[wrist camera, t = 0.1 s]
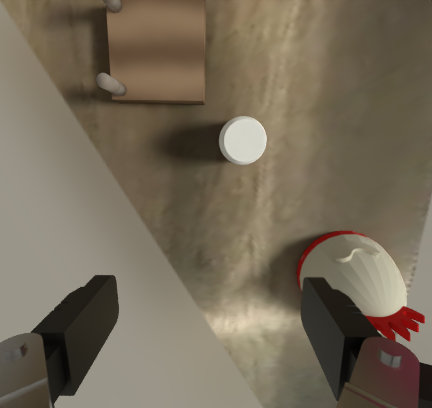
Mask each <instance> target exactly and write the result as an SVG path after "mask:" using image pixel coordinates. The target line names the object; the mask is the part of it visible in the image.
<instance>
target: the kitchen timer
mask: <svg viewBox="0 0 432 408" xmlns="http://www.w3.org/2000/svg"><path fill="white" fill-rule="evenodd" d="M305 277H324V278H325V279H326V281H327V282H328V283H329V285H330V286H331V287H332V289H338V290H340V291H341V292H343V293H344V294H346V295H347V296H349V297H350V298H351V300H352V301H353V302H354V303H355V304H356V307H358V308H359V309H360V310H361V312H362V314H364V315H365V316H366V318H367V319H368V320H369V321H370V322H371V324H372V325H373V326H374V327H375V328H376V330H377V331H378V332H379V333H382V334H383V335H384V336H386V337H387V338H388V339H391V340H393V341H396V339H395V334H394V332H393V331H392V329H393V330H394V331H395V332H397V333H398V334H399V335H400V336H402V337H403V338H405V339H406V340H407V341H410V332H409V331H408V330H407V328H409V329H411V330H413V331H415V332H419V324H418V323H416V322H415V321H413V320H416V321H418V322H421V323H425V321H424V320H425V317H424V316H423V315H422V314H420V313H418V312H416V311H414V310H412V309H410V308H407V307H406V304H407V301H406V287H405V284H404V281H403V279H402V276H401V274H400V271H399V270H398V268H397V266H396V265H395V263H394V261H393V260H392V258H391V257H390V256H389V255H388V254H387V252H386V251H385V250H384V249H383V248H382V247H381V246H380V245H379V244H378V243H376V242H375V241H373V240H371V239H370V238H368V237H366V236H365V235H363V234H360V233H357V232H353V231H336V232H332V233H329V234H326V235H323V236H322V237H320V238H318V239H317V240H315V241H313V242H312V244H311V245H310V246H309V247H308V248H307V249H306V250H305V251H304V253H303V255H302V257H301V258H300V260H299V264H298V269H297V279H298V285H299V287H300V289H301V291H302V288H303V280H304V278H305ZM412 319H413V320H412Z"/></svg>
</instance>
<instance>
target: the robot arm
mask: <svg viewBox="0 0 432 408" xmlns="http://www.w3.org/2000/svg"><path fill="white" fill-rule="evenodd" d="M118 314H119V304H118V294H117V284H116V278H115V276H114V275H95V276H94V277H93V278H92V279H91V280H90V281H89V282H88V283H87V284H86V285H85V286H84V287H80V288H78V289H77V290H75V291H73V292H72V293H70V294H69V295H68V296H67V297H66V298H65V299H64V300H63V301H62V302H61V304H59V305H58V306H56V307H55V308H54V311H51V312H50V314H49V315H47V316H46V317H45V318H44V319H43V320H42V322H40V323H39V324H38V325H37V326H36V328H34V329H33V330H32V331H31V332H30V333H24V334H20V335H16V336H13V337H11V338H8V339H6V340H4V341H2V342H1V343H0V408H55V406H54V403H55V401H56V400H57V398H58V397H59V396H63V395H64V396H73V395H75V393H76V391H77V389H78V388H79V386H80V384H81V383H82V381H83V379H84V377H85V376H86V374H87V372H88V370H89V369H90V367H91V365H92V364H93V362H94V360H95V359H96V357H97V355H98V353H99V352H100V350H101V348H102V347H103V345H104V343H105V341H106V340H107V338H108V336H109V334H110V333H111V331H112V329H113V328H114V326H115V324H116V322H117V319H118ZM301 320H302V324H303V327H304V329H305V331H306V334H307V336H308V338H309V340H310V343H311V345H312V347H313V349H314V351H315V354H316V356H317V358H318V360H319V363H320V365H321V367H322V369H323V372H324V374H325V376H326V378H327V381H328V383H329V385H330V387H331V389H332V392H333V394H334V396H335V398H336V401H338V404H337V407H336V408H432V365H428V364H424V363H421V362H419V360H418V359H417V357H416V356H415V355H414V353H412V352H411V351H410V350H409V349H408V348H406V347H405V346H403V345H402V344H400V343H398V342H396V341H393V340H391V339H388V338H384V337H382V336H381V334H380V333H379V332H378V331H377V330H376V328H375V327H374V326H373V325H372V324H371V322H370V321H369V320H368V319H367V318H366V316H365V315H364V314H362V312H361V310H360V309H359V308H358V307H356V304H355V303H354V302H353V301H352V300H351V298H350V297H349V296H347V295H346V294H344V293H343V292H341V291H340V290H338V289H332V287H331V286H330V285H329V283H328V282H327V281H326V279H325V278H324V277H305V278H304V280H303V288H302V301H301Z"/></svg>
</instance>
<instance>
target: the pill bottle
mask: <svg viewBox="0 0 432 408" xmlns="http://www.w3.org/2000/svg"><path fill="white" fill-rule="evenodd" d="M219 146H220V149H221V152H222V154H223V155H224V156H225V157H226V159H227V160H229V161H230V162H232V163H235V164H239V165H245V164H250V163H252V162H254V161H256V160H257V159H258V158H259V157H260V156H261V155H262V153H263V152H264V150H265V147H266V133H265V130H264V128H263V127H262V125H261V124H260V123H259V122H258V121H257V120H255V119H253V118H251V117H247V116H239V117H236V118H233V119H231V120H230V121H228V122H227V123H226V124H225V125H224V127H223V128H222V130H221V132H220V136H219Z"/></svg>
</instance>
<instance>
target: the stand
mask: <svg viewBox="0 0 432 408" xmlns="http://www.w3.org/2000/svg"><path fill="white" fill-rule="evenodd" d="M103 1H104V2H105V4H106V12H107V28H108V44H109V60H110V76H109V75H107V74H106V73H100V74H99V75H98V76H97V78H96V82H97V84H98V86H99V87H101V88H103V89H105V90H107V91H109V92H111V93H112V100H114V101H117V102H119V103H146V104H205V52H206V4H205V0H103Z"/></svg>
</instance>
